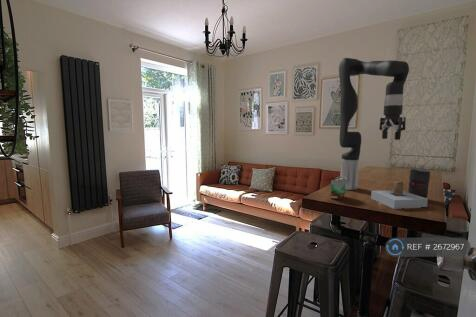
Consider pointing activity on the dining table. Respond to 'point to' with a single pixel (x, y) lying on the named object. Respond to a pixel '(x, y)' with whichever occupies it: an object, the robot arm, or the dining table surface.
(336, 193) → the food container
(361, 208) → the dining table surface
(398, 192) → the peg
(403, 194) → the socket board
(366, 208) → the dining table surface
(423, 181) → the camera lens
